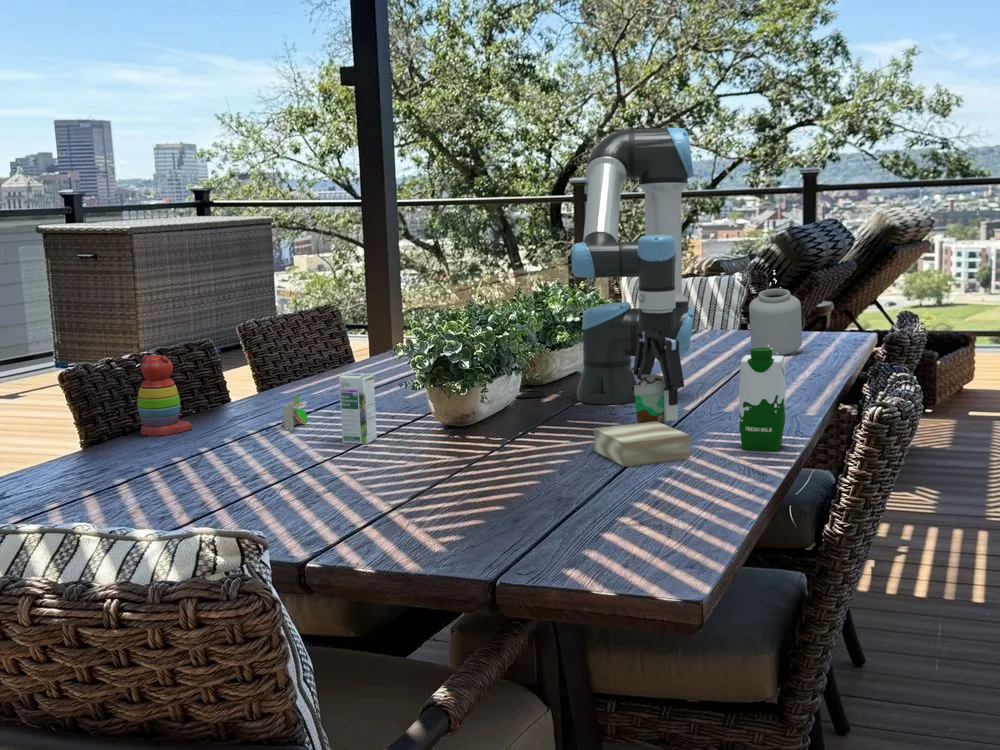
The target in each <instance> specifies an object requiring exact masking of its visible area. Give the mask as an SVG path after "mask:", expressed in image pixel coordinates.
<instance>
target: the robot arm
mask: <svg viewBox="0 0 1000 750" xmlns="http://www.w3.org/2000/svg"><path fill="white" fill-rule="evenodd" d="M689 138H690V137H689V133H688V131H687V129H685V128H682V127H669V126H668V127H659V128H658V127H656V128H653V127H652V128H638V129H637V128H636V129H635V128H634V129H633V128H631V129H630V128H629V129H627V128H625V129H620V130H617V131H615V132H612V133H610V134H609V135H607V136H606V137H604V138H603V139H602V140H601V141H600V142H598V144H597V145H596V146H595V147H594V148H593V150H592V151H591V153H590V154H589V157H588V158H587V161H586V165H585V179H586V181H587V183H588V185H587V186H588V188H587V195H586V196H587V198H586V209H585V218H584V229H583V238H582V240H583V241H581V242H577V243H574V244H573V246H572V248H571V268H572V273H573V275H574V276H575V277H577V278H585V279H587V278H589V279H598V278H599V279H600V278H602V279H604V278H638V297H637V300H638V307H637V308H634V307H632V305H631V303H630V302H628V301H627V302H626V301H624V302H622V301H621V302H620V301H619V302H610V303H605V304H599V305H594V306H591V307H589V308H587V309H585V311H584V312H583V313H582V327H581V330H582V347H583V348H582V352H583V353H582V355H583V356H582V358H583V360H582V361H583V362H582V363H583V367H582V368H583V369H582V373H581V376H580V379H579V381H578V386H577V388H576V389H577V390H576V400H577V401H579V402H580V403H581V402H582V403H585V404H591V405H592V404H593V405H620V404H628V403H633V402H635V396H634V385H638V384H637V383H639V382H640V381H641V374H652V371H653V368H654V364H655V361H656V360H657V361H658V362H659V366H660V370H661V373H662V376H663V377H664V381H665V384H666V387H665V388H664V420H665V422H669V421H670V422H671V421H677V420H679V417H678V416H679V414H678V412H679V411H678V410H679V406H678V403H679V400H678V399H679V398H678V397H679V390H680V389H681V388H684V387H685V381H684V374H683V368H682V363H681V356H685V355H686V354H688V353H689V351H690V346H691V339H692V332H693V324H694V315H695V308H694V307H692V306H689V299H688V298H687V297H686V296H685V295H684V294H683V291H682V290H683V287H682V286H683V285H682V283H683V282H682V281H683V279H682V277H683V274H682V273H683V272H682V263H683V262H682V255H683V253H682V250H683V249H682V192H683V191H684V190H685V189H686V187H688V182H689V181H688V178H689V179H691V178H693V177H694V175H695V174H694V173H695V172H694V167H693V159H692V151H691V145H690V139H689ZM629 179H630V180H638V188H639V189H640V190H642V192H644V218H645V219H644V221H645V222H644V225H645V227H644V228H645V229H644V235H643V236H642V235H641V236H640V237H639V239H638V241H619V227H620V225H619V224H620V210H621V209H620V208H621V197H622V196H621V194H622V193H621V192H622V185H624V183H625V181H626V180H629ZM632 357H635V358H634V363H633V369H632ZM635 376H636V377H637V378H635ZM636 379H637V380H638V382H637V380H636Z"/></svg>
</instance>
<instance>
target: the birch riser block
mask: <svg viewBox="0 0 1000 750" xmlns="http://www.w3.org/2000/svg"><path fill="white" fill-rule="evenodd" d="M593 450H594V452H595V451H596V453H598V454H599V455H601V456H603V457H605V458H607V459H609V460H611V461H613V462H615V463H616V464H618V465H620V466H623V467H624V468H625V467H632V466H641V465H649V464H657V463H664V462H671V461H679V460H681V461H682V460H689V459H691V435H690V434H688V433H686V432H683V431H681V430H679V429H677V428H674V427H672V426H669V425H666V424H665V425H664V424H662V423H660V422H657V421H654V422H646V423H637V422H636V423H629V424H622V425H621V424H619V425H613V426H604V427H594V428H593Z"/></svg>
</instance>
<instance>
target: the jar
mask: <svg viewBox="0 0 1000 750" xmlns="http://www.w3.org/2000/svg"><path fill="white" fill-rule="evenodd" d="M775 271H776V270H775V269H774V270H773V275H776V272H775ZM773 281H775V282H774V283H777V281H778V280H776V278H773ZM771 284H772V282H770V283H769V287H770V286H771ZM757 295H758V296H757V297H755V298H754V299H752V300H751V301H750V303H749V304H748V305H749V307H748V309H749V313H748V314H749V327H750V328H749V329H750V330H749V331H750V343H751V345H750V346H751V349H754V348H770V349H772V356H786V355H790V354H793V353H795V352H796V351H798V350H799V349H801V347H802V345H803V328H802V305H801V300H800V299H798V297H796V296H794V295H792V294H791V291H790V290H789V289H785V288H782V287H781V286H780V287H779V288H770V289H769V288H768V289H765V290H762V291H759V293H758V294H757Z"/></svg>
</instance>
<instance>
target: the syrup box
mask: <svg viewBox="0 0 1000 750" xmlns="http://www.w3.org/2000/svg"><path fill="white" fill-rule="evenodd" d="M374 377H375V375H374V373H354V372H353V373H351V372H349V373H345V374H343V375H340V376H339V377H338V381H339V383H338V385H339V387H338V388H339V400H340V401H339V402H340V417H341V418H340V419H341V436H342V437H341V439H342V440H341V441H342V444H354V445H367V444H369V443H371V442H374V440H377V439H378V437H377V433H378V432H377V416H376V399H375V398H376V395H375V378H374Z"/></svg>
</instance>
